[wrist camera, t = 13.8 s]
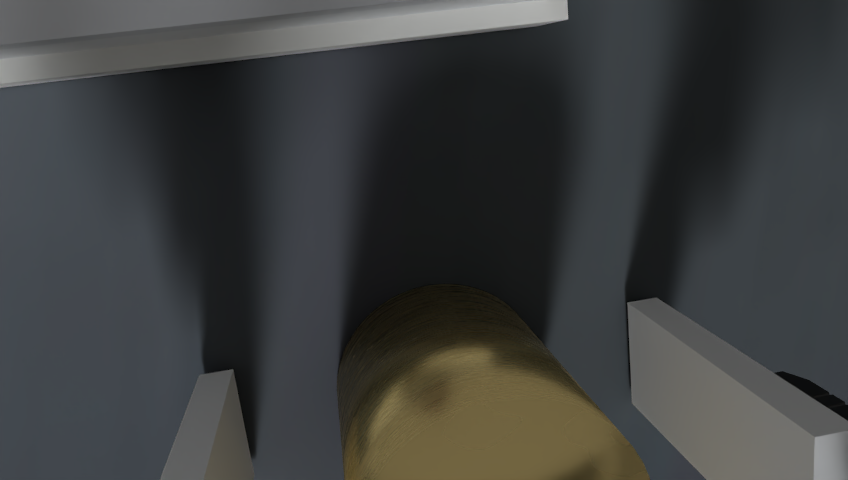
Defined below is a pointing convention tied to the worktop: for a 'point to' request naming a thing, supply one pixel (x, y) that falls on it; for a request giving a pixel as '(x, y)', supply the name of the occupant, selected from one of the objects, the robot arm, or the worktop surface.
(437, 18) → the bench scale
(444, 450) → the brass spacer
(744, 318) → the worktop surface
